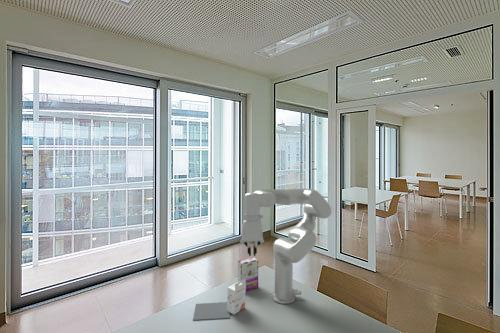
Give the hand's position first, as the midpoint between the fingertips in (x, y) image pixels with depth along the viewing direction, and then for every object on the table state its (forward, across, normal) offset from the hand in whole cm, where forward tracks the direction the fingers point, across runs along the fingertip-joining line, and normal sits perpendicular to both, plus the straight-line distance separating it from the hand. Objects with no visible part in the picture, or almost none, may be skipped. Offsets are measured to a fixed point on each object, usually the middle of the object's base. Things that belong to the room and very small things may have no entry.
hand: (252, 254), depth 126 cm
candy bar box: (+27, 0, -20) cm, 34 cm away
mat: (+27, +20, 0) cm, 33 cm away
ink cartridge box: (+27, +8, 0) cm, 28 cm away
